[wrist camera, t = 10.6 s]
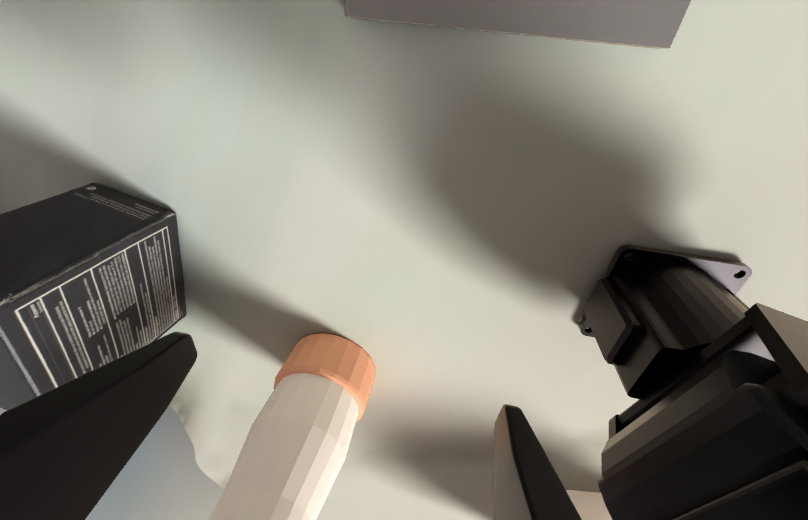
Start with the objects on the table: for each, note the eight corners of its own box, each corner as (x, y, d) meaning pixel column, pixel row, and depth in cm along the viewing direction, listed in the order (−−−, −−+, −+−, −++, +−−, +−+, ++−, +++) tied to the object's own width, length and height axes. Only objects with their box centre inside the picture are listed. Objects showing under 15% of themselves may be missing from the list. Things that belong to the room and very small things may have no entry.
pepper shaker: (390, 360, 26) (263, 828, 10) (355, 402, 30) (224, 790, 14) (308, 318, 26) (34, 759, 10) (283, 367, 29) (59, 738, 14)
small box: (87, 176, 22) (-164, 256, 13) (179, 210, 22) (-11, 311, 14) (116, 290, 28) (-46, 397, 19) (189, 316, 28) (60, 434, 19)
